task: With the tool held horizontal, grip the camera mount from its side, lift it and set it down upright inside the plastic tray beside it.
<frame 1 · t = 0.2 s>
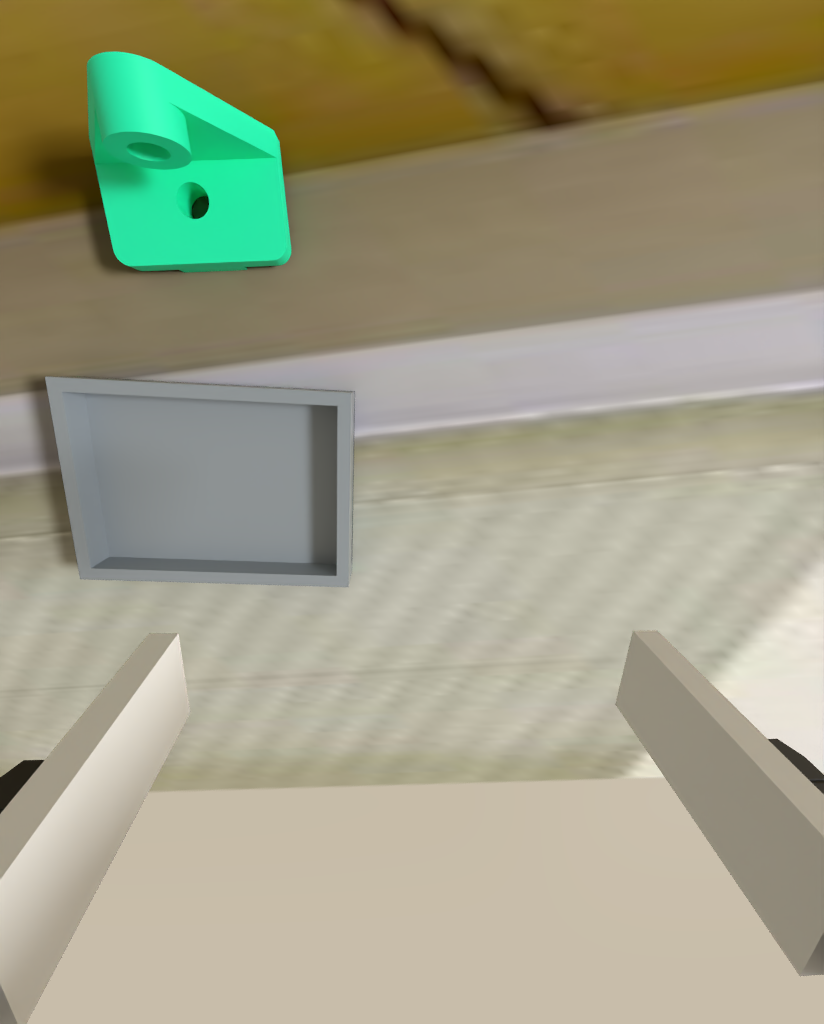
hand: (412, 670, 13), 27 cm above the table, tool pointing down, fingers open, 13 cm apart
camera mount: (209, 215, 33), on the table
tray: (225, 480, 38), on the table
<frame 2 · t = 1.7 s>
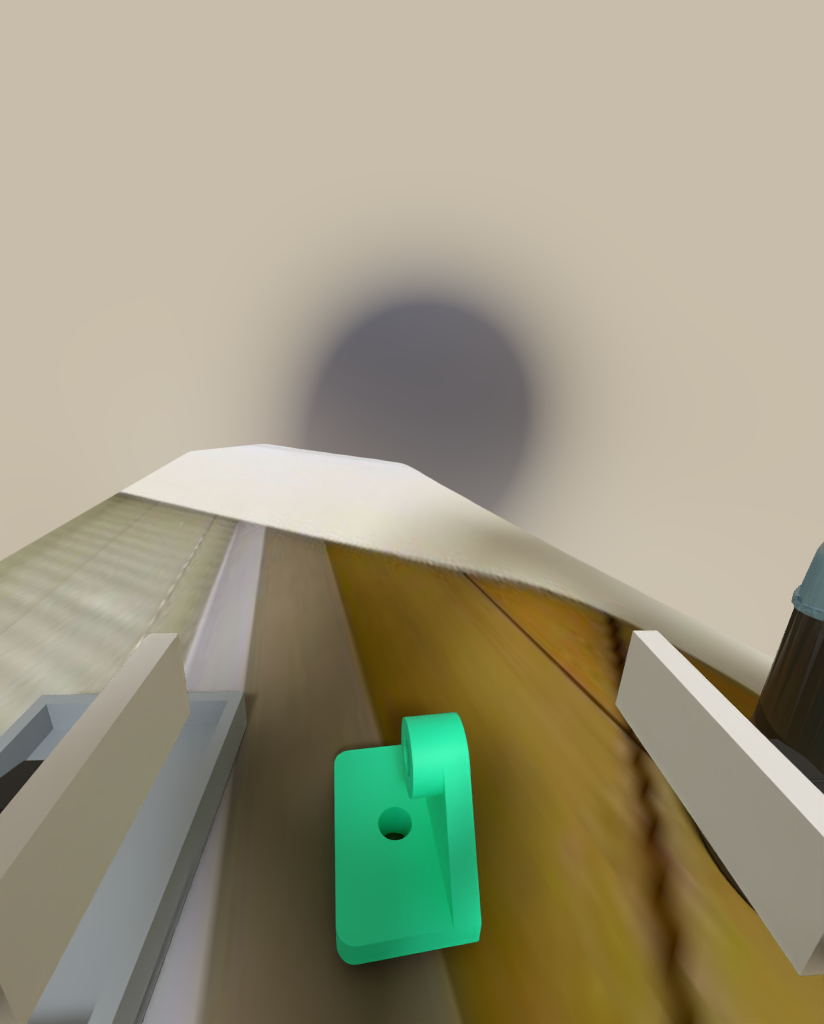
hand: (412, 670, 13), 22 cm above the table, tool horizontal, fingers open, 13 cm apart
camera mount: (393, 853, 30), on the table
tray: (66, 865, 28), on the table
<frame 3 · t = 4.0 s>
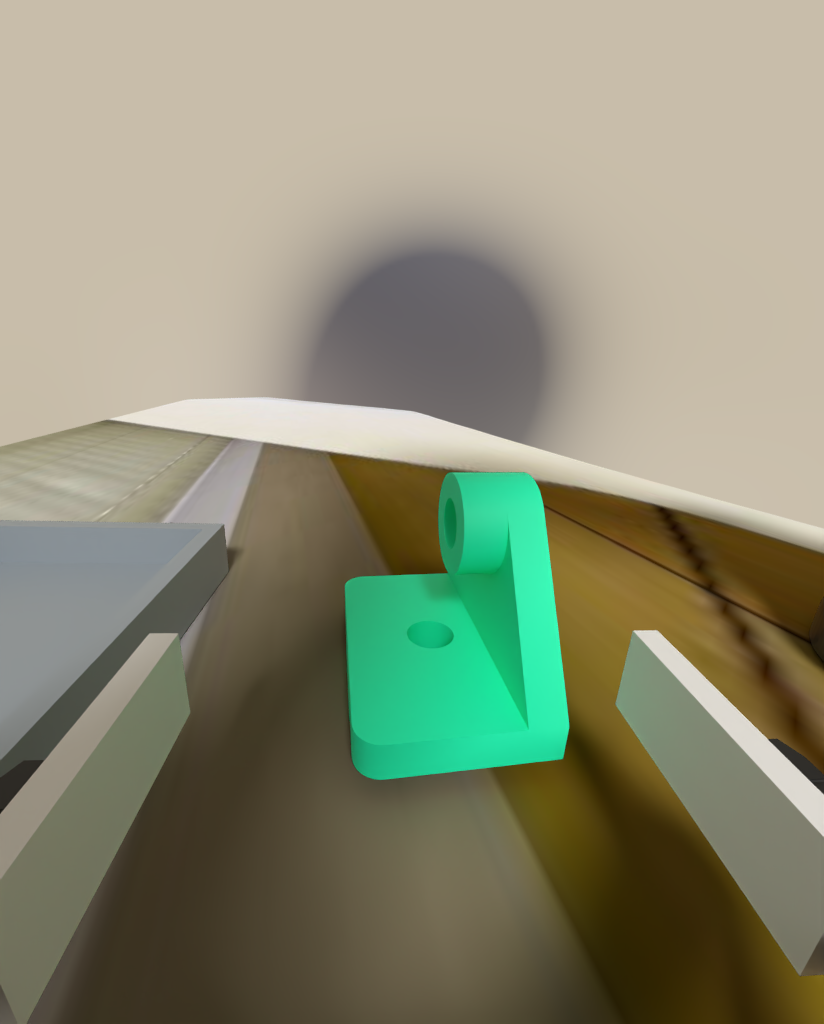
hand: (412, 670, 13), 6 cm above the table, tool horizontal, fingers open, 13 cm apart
camera mount: (427, 683, 22), on the table
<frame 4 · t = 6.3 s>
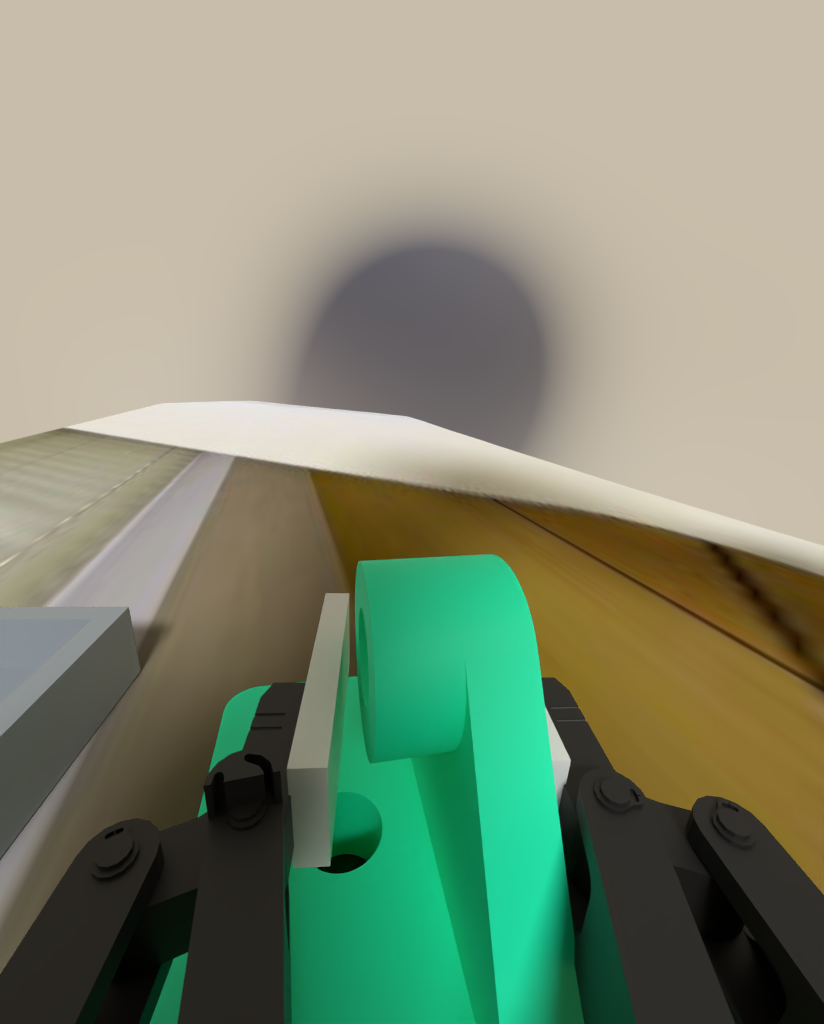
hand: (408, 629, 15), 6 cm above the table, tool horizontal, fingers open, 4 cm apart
camera mount: (342, 898, 13), on the table, touching gripper
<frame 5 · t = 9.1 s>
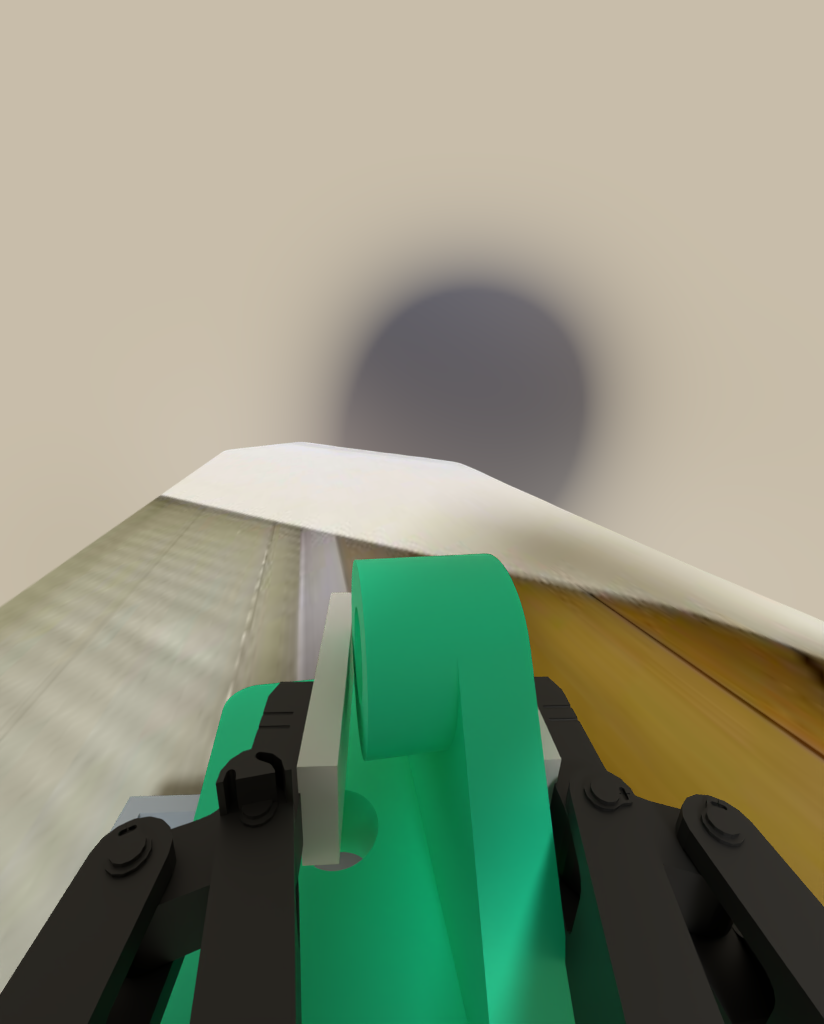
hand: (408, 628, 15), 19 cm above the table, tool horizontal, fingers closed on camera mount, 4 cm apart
camera mount: (339, 896, 13), point 13 cm above the table, touching gripper
when the fingers open (8 cm above the table, at t = 11.6 s): camera mount drops 1 cm, resting on tray.
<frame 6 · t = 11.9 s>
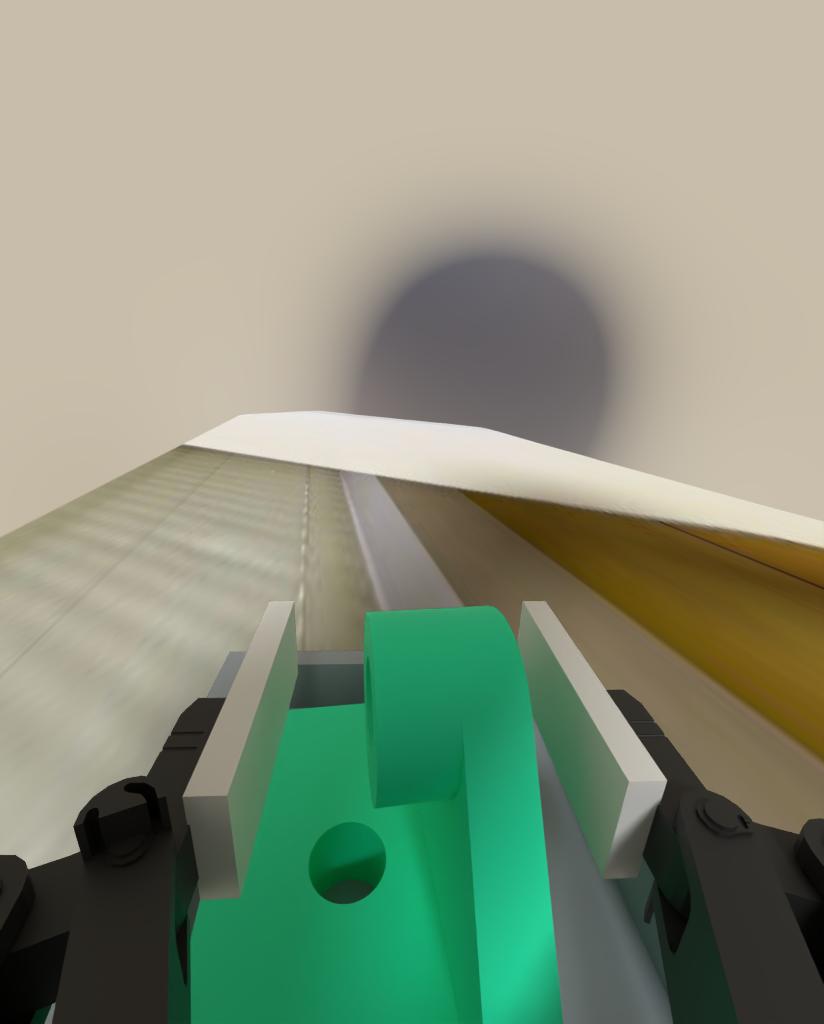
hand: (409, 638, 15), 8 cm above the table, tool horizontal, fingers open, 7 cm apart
camera mount: (348, 923, 14), point 1 cm above the table, touching tray
tray: (408, 992, 13), on the table
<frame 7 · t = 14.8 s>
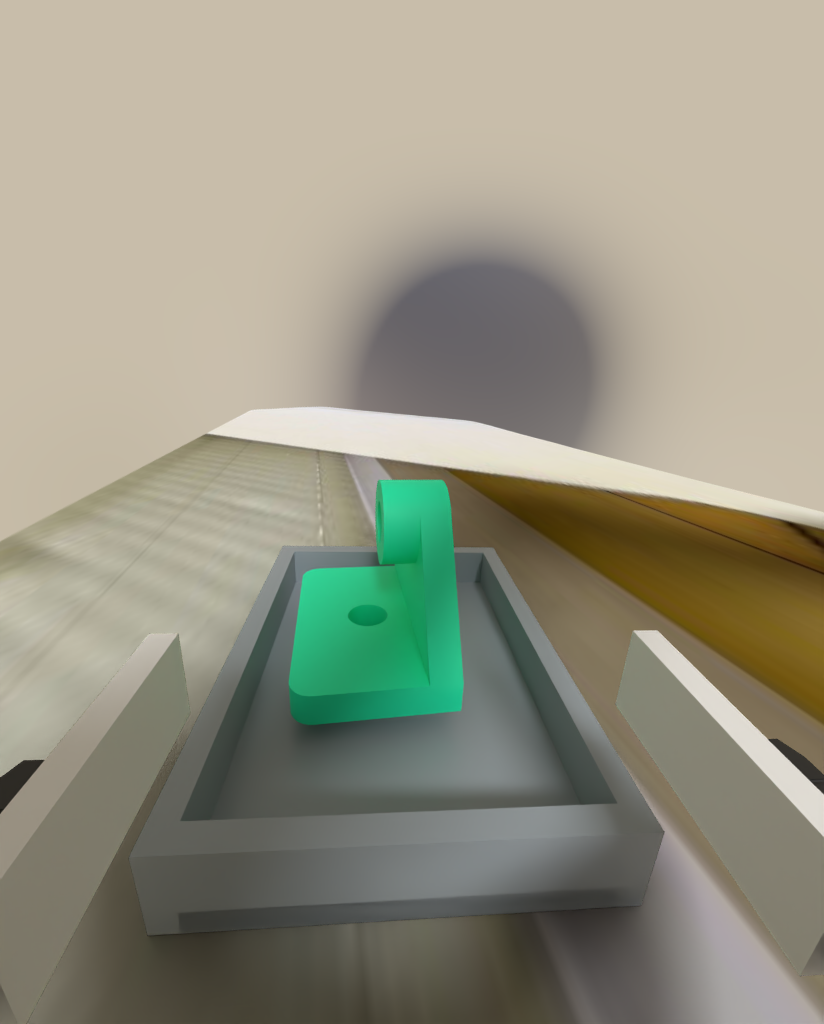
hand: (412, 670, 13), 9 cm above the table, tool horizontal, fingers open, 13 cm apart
camera mount: (367, 657, 26), point 1 cm above the table, touching tray
tray: (393, 684, 25), on the table
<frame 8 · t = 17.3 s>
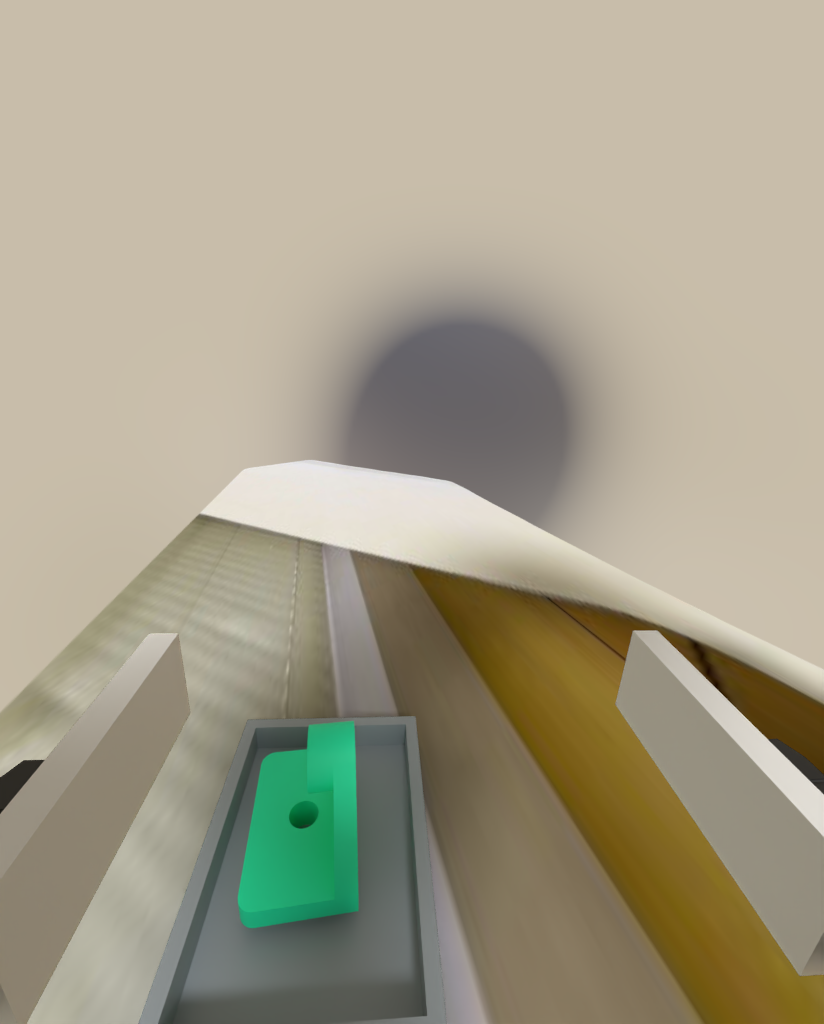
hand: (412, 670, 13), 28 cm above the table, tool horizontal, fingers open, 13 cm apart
camera mount: (305, 840, 35), point 1 cm above the table, touching tray
tray: (319, 865, 34), on the table
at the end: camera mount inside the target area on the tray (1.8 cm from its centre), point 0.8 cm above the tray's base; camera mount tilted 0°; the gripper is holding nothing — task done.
